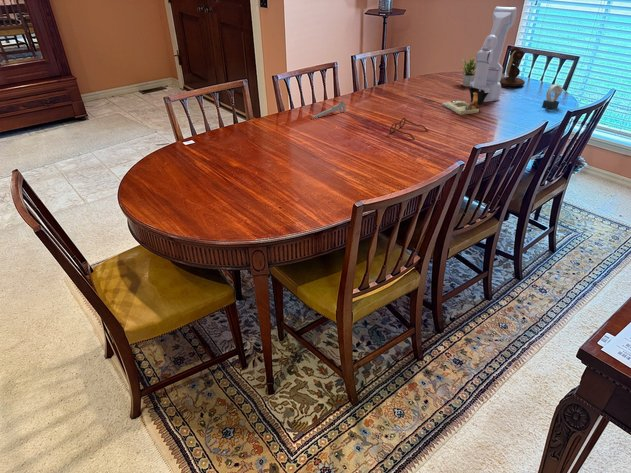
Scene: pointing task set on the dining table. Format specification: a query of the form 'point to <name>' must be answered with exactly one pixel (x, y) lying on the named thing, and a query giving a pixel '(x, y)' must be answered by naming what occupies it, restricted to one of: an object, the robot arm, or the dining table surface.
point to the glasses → (403, 125)
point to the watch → (552, 102)
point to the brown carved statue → (513, 70)
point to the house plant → (468, 76)
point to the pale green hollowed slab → (461, 107)
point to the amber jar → (475, 100)
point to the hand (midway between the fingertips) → (476, 103)
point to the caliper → (334, 108)
